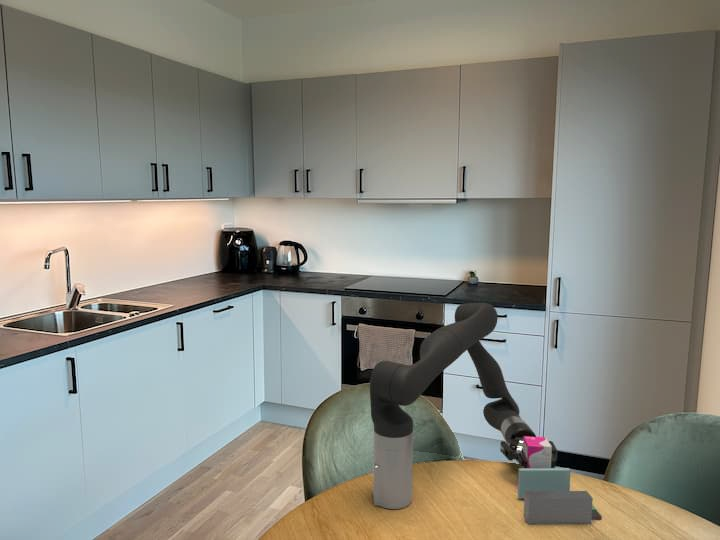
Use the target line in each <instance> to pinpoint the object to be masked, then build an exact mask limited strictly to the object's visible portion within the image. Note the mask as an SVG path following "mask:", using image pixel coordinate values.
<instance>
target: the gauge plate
mask: <svg viewBox="0 0 720 540" xmlns="http://www.w3.org/2000/svg"><path fill="white" fill-rule="evenodd" d="M517 480H518V481H517V497H518V499H521V500H522V499H524V494H525V491H571V490H570V489H571V488H570V487H571V486H570V485H571V469H570V468H569V467H564V468H563V467H561V468H560V467H559V468H558V467H556V468H522V467H520V468H518V479H517Z"/></svg>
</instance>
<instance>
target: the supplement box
mask: <svg viewBox="0 0 720 540" xmlns="http://www.w3.org/2000/svg"><path fill="white" fill-rule="evenodd" d="M548 441H549V440H548V439H547V437H546V436H536V437H529V436H524V437H523V455H524V456H525V457H526V459H527V468H551V455H552V446H551V445H550V443H549V442H548ZM521 468H523V466H521Z"/></svg>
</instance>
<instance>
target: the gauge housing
mask: <svg viewBox="0 0 720 540" xmlns="http://www.w3.org/2000/svg"><path fill="white" fill-rule="evenodd" d="M593 499H594V498H593V497H592V495H591V494H590V493H589V492H588V491H587V490H570V491H525V494H524V498H523V501H524V502H523V517H524V520H525V521H526V523H527V525H585V524H586V525H588V524H590V525H591V524H592V521H594V520H595V521H599V520H600V521H601V520H603V517H602V514H600V512H599V511H598V510H597V508H596V507H595V506H594V504H593Z"/></svg>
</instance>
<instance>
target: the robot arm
mask: <svg viewBox="0 0 720 540" xmlns="http://www.w3.org/2000/svg"><path fill="white" fill-rule="evenodd" d="M498 317H499V316H498V311H497V310H496V308H495V307H494V306H493V305H492V304H490V303H487V302H472V303H462V304H459V305H458V306H457V307H456V309H455V312H454V322H453V323H450V324H446V325H444V326H442V327H439V328H437V329H436V330H434V331H433V332H432V333H430V334H429V335H428V336H426V338H425V339H423V340H422V341H421V342H422V343H421V345H420V349H419V358H420V359H419V360H418V361H416V362H415V363H413V364H404V363H399V362H395V361H388V360H381V361H379V362H377V363H376V364H375V365H374V367H373V369H372V371H371V374H370V380H369V398H370V399H369V400H370V417H371V421H372V424H373V456H372V496H373V505H374V506H377V507H378V506H379V507H381V508H384V509H388V510H390V509H391V510H399V509H404V508H406V507H408V506H409V505H410V504H411V503H412V501H413V468H414V467H413V463H414V461H413V458H414V457H413V455H414V454H413V453H414V420H413V418H412V417H411V416H410V414H408V413H407V412H406V411H404V410H403V408H402V407H401V406H403V407H406V406H410V405H412V404H413V403H415V402H416V401H417V400H418V399H419V398H420V397H421V395H422V394H423V393H424V392H425V391H426V390H427V388H428V387H429V386H430V385H431V384H432V383H433V381H434V380H435V379H436V378H438V376H439V375H440V374H441V373H442V372H444V371H445V370H446V369H447V368H448V367H450V366H451V365H452V364H453V363H455V361H457V359H459V358H460V357H461V356H462V355H463V354H464V353H465V352H466V351H467V353H468V355H469V356H470V359H471V361H472V363H473V365H474V367H475V370H476V372H477V376H478V379H479V381H480V386H481V389H482V391H483V395H484V396H485V398H488V399H497V400H494V401H491V402H488V403H486V404H485V405H484V407H483V410H482V411H483V417H484V419H485V421H486V422H487V423H488V425H489V426H491V427H492V428H493V429H495V430H498V431H499V432H500V433H501V434H502V437H503V439H504V441H503V440H501V441H500V447H499V449H500V452H501V454H503V456H504V457H505V458H506V459H507V460H508V461H509V462H511V461H514V460H515V462H517V463H518V464H519V466H520V467H522V466H523V468H527V459H526V457H525V456H524V455H523V437H524V436H529V437H537V435H536V433H535V432H534V431H533V430H532V428H531V427H530V426H529V425H528V423H527V422H526V421H525V420H523V419H522V418H521V416H520V407H519V406H518V403H517V402H516V401H515V399H514V398H513V397H512V395H511V393H510V391H509V389H508V387H507V384H506V381H505V377H504V375H503V374H504V373H503V371H502V368H501V366H500V364H499V363H498V361H497V360H496V359H495V358H494V356H493V355H491V354H490V353H489V351H488V350H487V348H485V346H483V344H482V343H481V340H482V339H484V338H485V337H487V336H489V335H490V334H492V333H493V331H495V328H496V326H497V323H498ZM548 442H549V443H550V445H551V446H552V455H551V468H555V467H556V465H557V461H558V449H557V447H556V445H555V443H554V441H552V440H548Z"/></svg>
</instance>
